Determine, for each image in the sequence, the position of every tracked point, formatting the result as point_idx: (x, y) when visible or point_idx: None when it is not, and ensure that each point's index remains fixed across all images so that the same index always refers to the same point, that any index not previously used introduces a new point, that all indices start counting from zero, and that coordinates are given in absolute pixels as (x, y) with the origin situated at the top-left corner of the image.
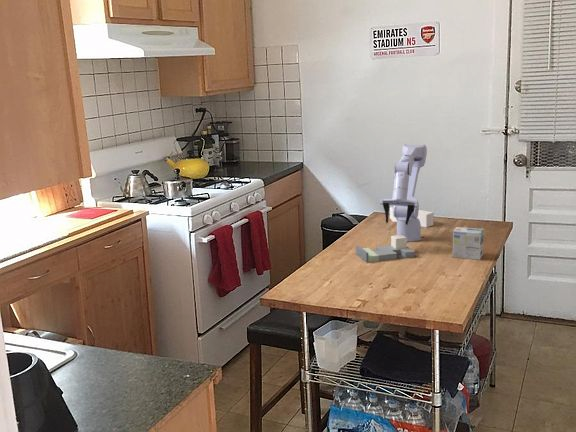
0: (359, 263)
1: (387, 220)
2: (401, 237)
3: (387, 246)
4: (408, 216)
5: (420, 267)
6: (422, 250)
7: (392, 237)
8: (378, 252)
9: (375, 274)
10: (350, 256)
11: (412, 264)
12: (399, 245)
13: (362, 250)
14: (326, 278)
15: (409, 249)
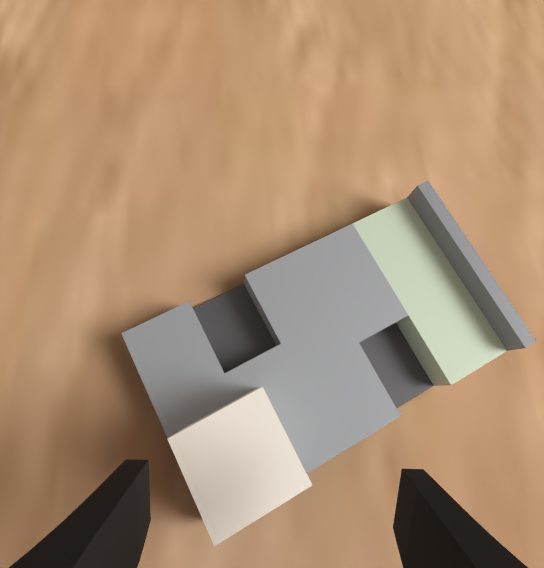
0: None
1: (409, 474)
2: (214, 439)
3: (322, 436)
4: (62, 527)
5: (111, 152)
6: (64, 506)
7: (297, 456)
8: (363, 283)
9: (329, 51)
10: None
11: (153, 196)
12: (231, 402)
13: (464, 235)
14: (514, 5)
15: (158, 375)
